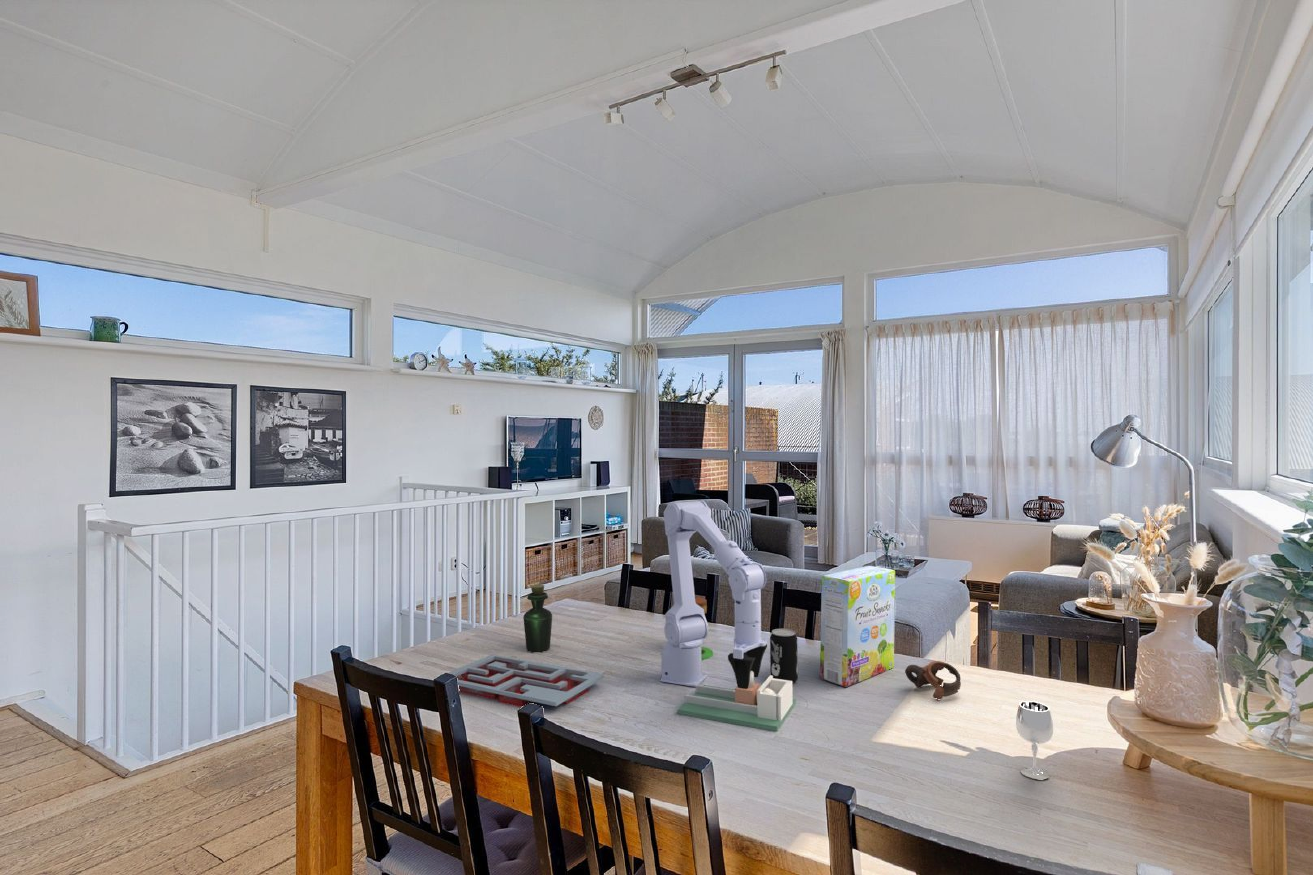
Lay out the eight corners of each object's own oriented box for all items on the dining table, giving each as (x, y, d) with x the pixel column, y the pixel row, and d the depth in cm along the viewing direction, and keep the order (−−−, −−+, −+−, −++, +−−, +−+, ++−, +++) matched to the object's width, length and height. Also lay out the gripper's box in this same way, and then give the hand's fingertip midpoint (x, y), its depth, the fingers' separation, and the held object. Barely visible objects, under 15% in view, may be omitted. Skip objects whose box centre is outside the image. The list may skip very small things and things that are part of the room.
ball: (765, 688, 147) (777, 706, 146) (771, 681, 151) (783, 699, 150) (749, 697, 148) (761, 716, 147) (755, 690, 152) (767, 708, 151)
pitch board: (677, 713, 149) (677, 702, 149) (703, 688, 163) (703, 678, 163) (777, 731, 140) (777, 719, 140) (795, 703, 154) (795, 692, 154)
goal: (757, 716, 145) (757, 690, 145) (770, 700, 154) (770, 675, 154) (780, 720, 142) (780, 693, 142) (792, 703, 152) (792, 678, 151)
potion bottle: (538, 643, 201) (537, 581, 201) (558, 648, 196) (558, 585, 196) (517, 650, 194) (516, 586, 194) (538, 655, 190) (537, 590, 190)
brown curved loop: (953, 688, 164) (964, 664, 160) (953, 719, 156) (964, 694, 152) (901, 671, 167) (910, 647, 163) (899, 700, 159) (908, 676, 155)
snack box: (849, 689, 162) (848, 580, 162) (818, 680, 169) (817, 575, 169) (897, 668, 177) (896, 568, 177) (867, 660, 183) (866, 563, 183)
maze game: (436, 690, 165) (436, 677, 165) (492, 666, 182) (491, 654, 182) (556, 717, 149) (556, 702, 149) (604, 687, 166) (604, 674, 166)
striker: (735, 706, 149) (734, 674, 149) (742, 698, 154) (742, 667, 154) (753, 709, 148) (752, 677, 148) (759, 701, 152) (759, 669, 152)
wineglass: (1009, 767, 124) (1008, 700, 124) (1039, 765, 124) (1039, 699, 124) (1029, 783, 118) (1028, 713, 118) (1061, 781, 119) (1060, 711, 119)
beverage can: (797, 686, 165) (797, 636, 165) (769, 684, 166) (769, 634, 166) (797, 676, 171) (797, 628, 171) (770, 675, 172) (770, 627, 172)
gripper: (755, 630, 142) (756, 696, 142) (774, 613, 155) (775, 673, 155) (723, 626, 145) (724, 691, 145) (744, 610, 158) (744, 669, 158)
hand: (748, 682), depth 151 cm, fingers open, 7 cm apart
